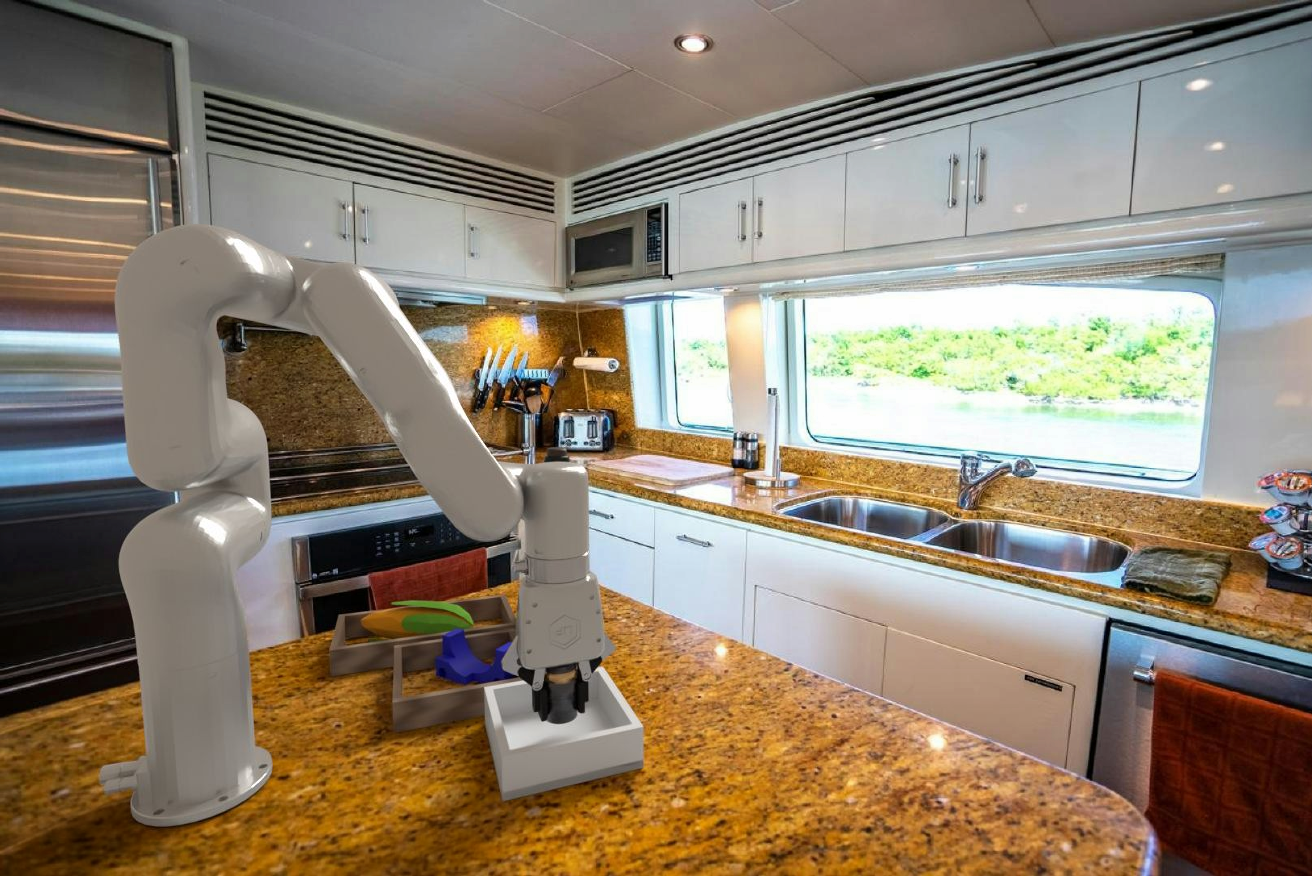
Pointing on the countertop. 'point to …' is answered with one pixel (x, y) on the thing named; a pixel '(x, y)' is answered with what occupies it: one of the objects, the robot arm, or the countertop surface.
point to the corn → (417, 620)
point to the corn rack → (383, 651)
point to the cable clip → (468, 662)
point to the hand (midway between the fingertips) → (560, 710)
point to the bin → (560, 739)
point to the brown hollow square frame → (446, 702)
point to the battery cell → (561, 693)
